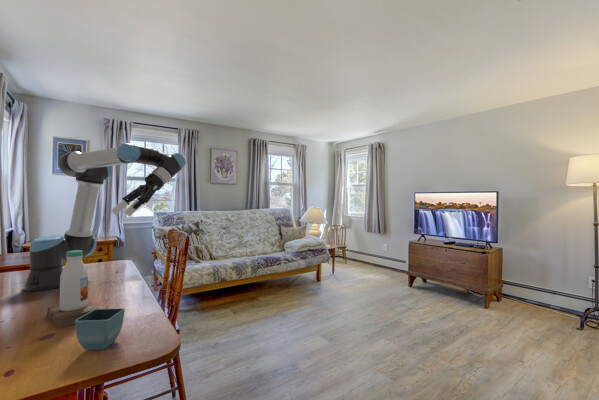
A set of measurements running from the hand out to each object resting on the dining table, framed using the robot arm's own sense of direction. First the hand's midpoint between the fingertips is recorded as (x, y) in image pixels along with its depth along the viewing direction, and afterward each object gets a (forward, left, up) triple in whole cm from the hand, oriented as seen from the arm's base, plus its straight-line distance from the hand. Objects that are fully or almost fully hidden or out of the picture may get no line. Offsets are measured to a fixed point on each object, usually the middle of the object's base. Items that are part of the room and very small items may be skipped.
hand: (119, 213), depth 115 cm
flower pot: (+35, -17, -36) cm, 53 cm away
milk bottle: (+4, -16, -33) cm, 37 cm away
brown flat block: (+4, -16, -36) cm, 39 cm away
